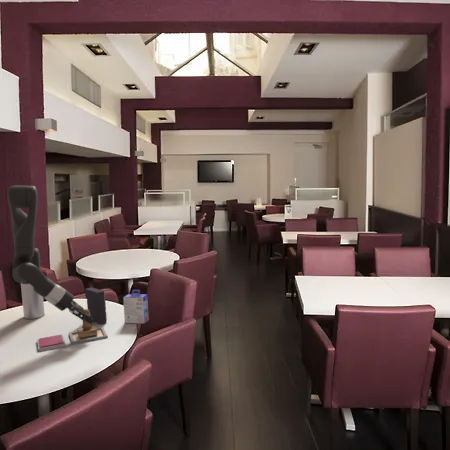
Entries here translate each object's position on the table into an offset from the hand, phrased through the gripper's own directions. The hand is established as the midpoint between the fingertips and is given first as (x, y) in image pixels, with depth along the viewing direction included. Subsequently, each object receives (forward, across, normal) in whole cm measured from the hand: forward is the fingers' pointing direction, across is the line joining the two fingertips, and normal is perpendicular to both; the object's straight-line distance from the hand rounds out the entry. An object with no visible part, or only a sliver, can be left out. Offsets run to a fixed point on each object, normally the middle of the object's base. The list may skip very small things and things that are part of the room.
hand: (91, 320), depth 181 cm
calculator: (+8, +17, +2) cm, 19 cm away
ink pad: (-7, -1, +16) cm, 18 cm away
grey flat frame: (+3, 0, +6) cm, 7 cm away
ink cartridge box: (+19, +7, -10) cm, 23 cm away
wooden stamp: (+3, 0, +6) cm, 7 cm away
